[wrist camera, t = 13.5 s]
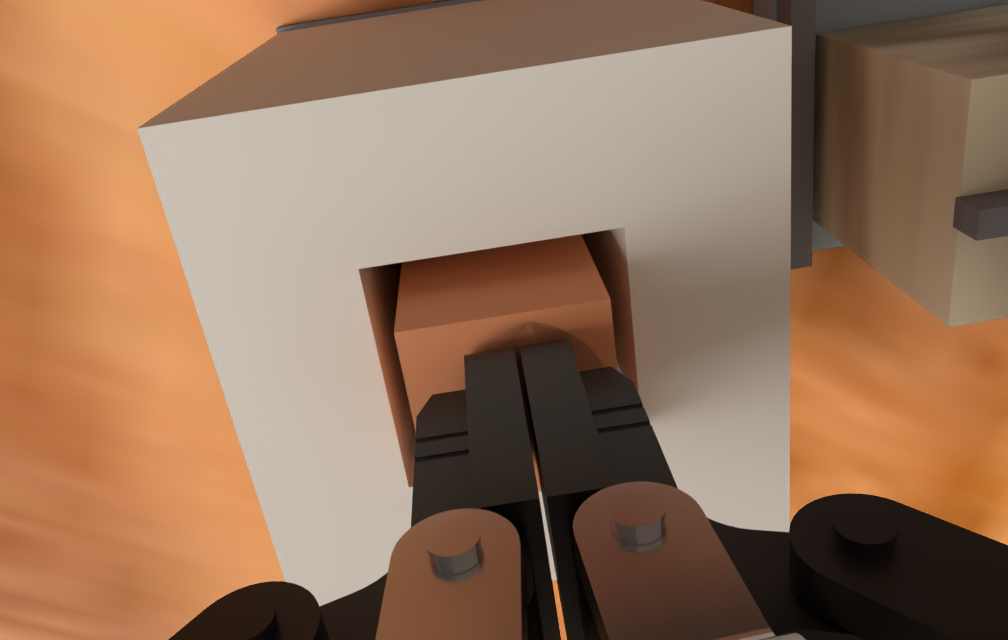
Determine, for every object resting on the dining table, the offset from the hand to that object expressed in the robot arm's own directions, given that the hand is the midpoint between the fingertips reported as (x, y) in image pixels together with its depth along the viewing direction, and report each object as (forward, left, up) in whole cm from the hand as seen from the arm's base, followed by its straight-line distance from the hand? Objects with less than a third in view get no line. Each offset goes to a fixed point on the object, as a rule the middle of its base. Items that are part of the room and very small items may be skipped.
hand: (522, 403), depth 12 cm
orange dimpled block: (0, 0, -9) cm, 9 cm away
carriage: (+12, 0, -11) cm, 17 cm away
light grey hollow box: (0, 0, -13) cm, 13 cm away
